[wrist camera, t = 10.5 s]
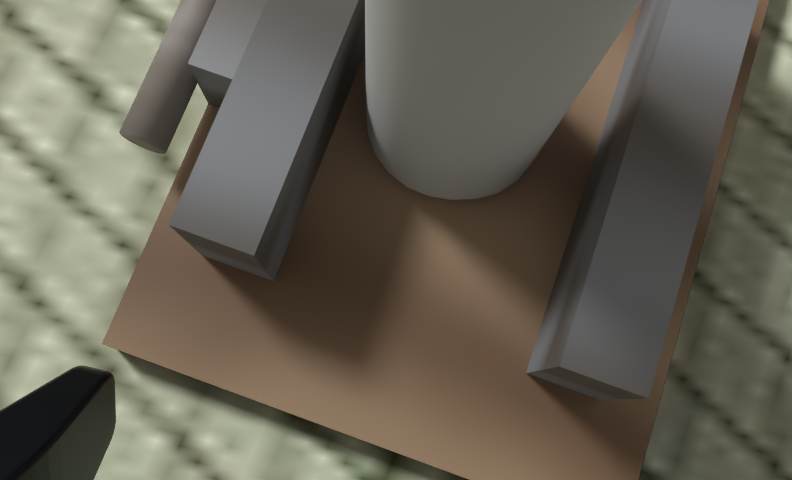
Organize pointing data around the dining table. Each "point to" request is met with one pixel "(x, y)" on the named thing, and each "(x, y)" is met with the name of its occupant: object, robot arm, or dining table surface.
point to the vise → (433, 241)
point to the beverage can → (477, 84)
